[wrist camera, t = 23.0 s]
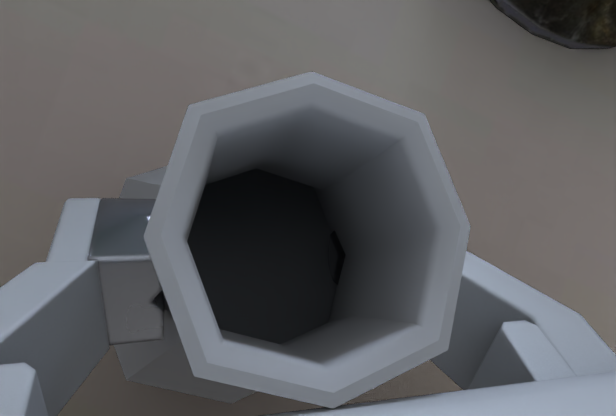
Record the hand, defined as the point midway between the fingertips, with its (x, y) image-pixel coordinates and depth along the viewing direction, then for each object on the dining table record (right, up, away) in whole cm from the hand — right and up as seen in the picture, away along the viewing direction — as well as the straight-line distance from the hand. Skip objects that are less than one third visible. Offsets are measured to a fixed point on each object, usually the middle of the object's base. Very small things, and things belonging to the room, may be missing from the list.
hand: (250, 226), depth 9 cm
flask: (-1, -2, +5) cm, 6 cm away
